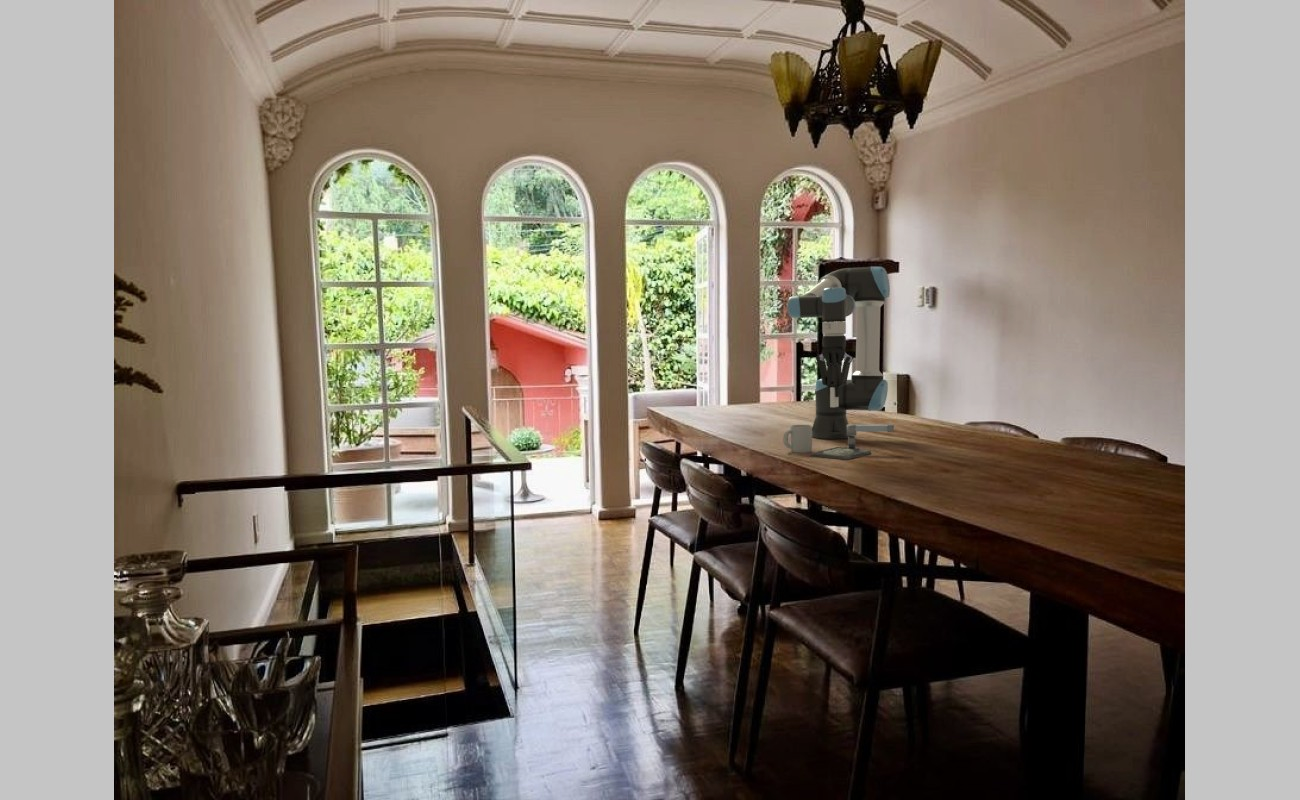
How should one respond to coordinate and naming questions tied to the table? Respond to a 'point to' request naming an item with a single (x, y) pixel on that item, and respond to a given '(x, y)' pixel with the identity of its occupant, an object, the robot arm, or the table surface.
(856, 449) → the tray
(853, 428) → the cable arm
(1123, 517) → the table surface
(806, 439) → the cup
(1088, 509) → the table surface
